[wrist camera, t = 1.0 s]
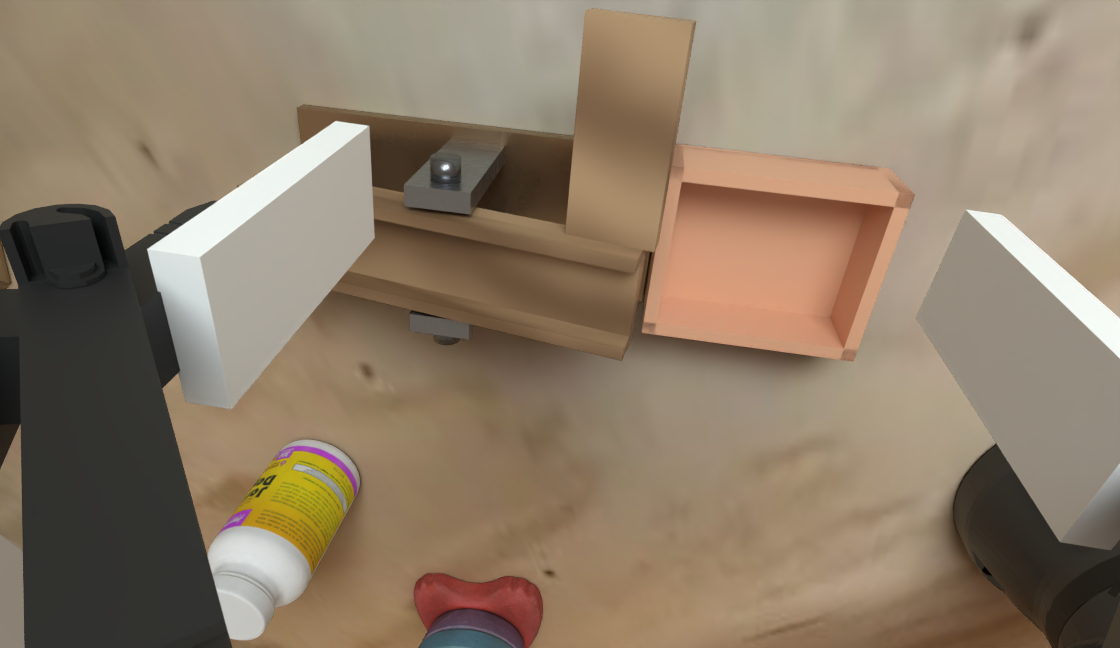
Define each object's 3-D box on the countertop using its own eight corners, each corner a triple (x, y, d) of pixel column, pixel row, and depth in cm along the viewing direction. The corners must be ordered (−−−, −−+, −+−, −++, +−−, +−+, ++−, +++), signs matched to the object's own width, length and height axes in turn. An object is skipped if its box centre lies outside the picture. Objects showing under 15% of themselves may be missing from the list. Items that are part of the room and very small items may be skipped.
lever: (642, 339, 32) (628, 373, 30) (291, 257, 36) (253, 280, 34) (696, 21, 25) (683, 29, 22) (250, -34, 29) (199, -32, 27)
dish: (836, 324, 39) (853, 361, 36) (643, 298, 40) (641, 332, 37) (889, 168, 35) (914, 194, 31) (668, 142, 35) (669, 165, 32)
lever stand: (641, 299, 40) (637, 379, 33) (321, 257, 42) (250, 325, 34) (667, 140, 35) (668, 194, 28) (302, 98, 37) (215, 139, 30)
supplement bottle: (299, 420, 49) (194, 562, 38) (377, 467, 50) (298, 616, 39) (265, 471, 52) (160, 615, 41) (340, 513, 53) (257, 664, 42)
